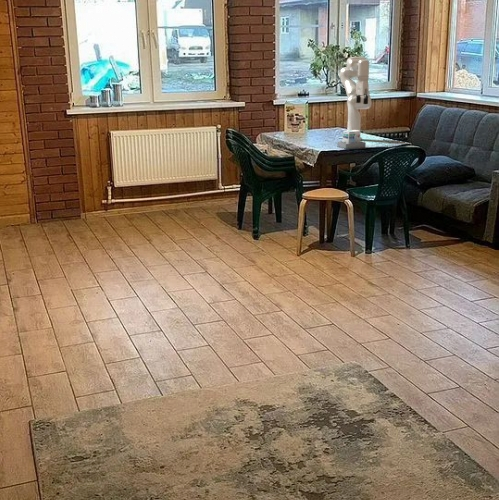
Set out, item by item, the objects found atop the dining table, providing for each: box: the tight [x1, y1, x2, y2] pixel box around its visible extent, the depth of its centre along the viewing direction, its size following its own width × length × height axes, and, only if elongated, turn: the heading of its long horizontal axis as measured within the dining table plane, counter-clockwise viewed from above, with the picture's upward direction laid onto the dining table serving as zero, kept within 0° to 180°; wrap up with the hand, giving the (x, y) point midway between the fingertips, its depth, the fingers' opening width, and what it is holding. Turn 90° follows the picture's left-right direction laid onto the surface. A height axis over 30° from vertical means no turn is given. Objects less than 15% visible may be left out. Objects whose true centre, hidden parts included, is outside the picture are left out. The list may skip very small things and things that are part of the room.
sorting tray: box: [337, 140, 367, 150], centre depth 494 cm, size 12×16×4 cm
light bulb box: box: [342, 129, 361, 144], centre depth 493 cm, size 11×7×11 cm, turn 123°
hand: (361, 103), depth 501 cm, fingers open, 9 cm apart
